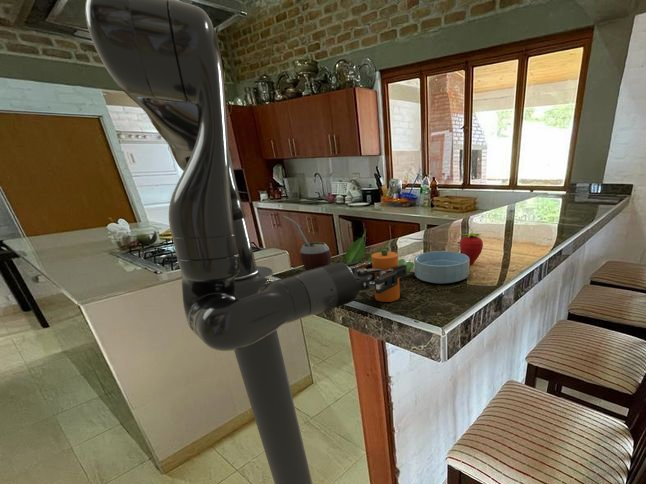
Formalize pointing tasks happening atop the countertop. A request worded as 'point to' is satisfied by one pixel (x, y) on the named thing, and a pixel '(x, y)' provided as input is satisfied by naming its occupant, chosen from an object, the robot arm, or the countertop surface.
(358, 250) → the leaves
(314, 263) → the mate gourd
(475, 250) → the strawberry
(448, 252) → the bowl
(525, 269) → the countertop surface
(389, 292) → the vegetable
